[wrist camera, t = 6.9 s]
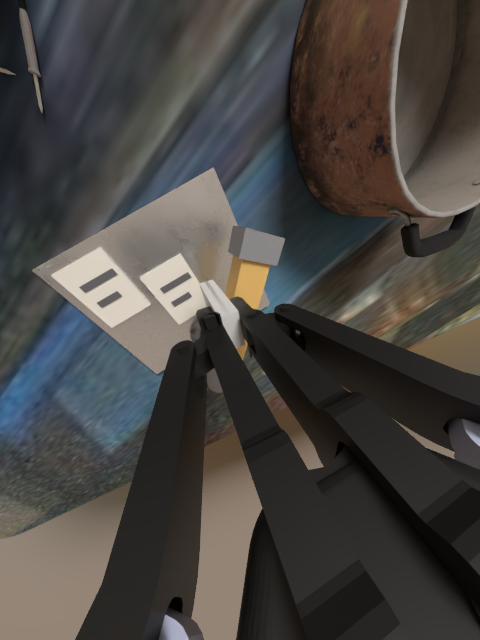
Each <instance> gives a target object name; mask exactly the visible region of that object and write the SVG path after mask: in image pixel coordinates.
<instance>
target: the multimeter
mask: <svg viewBox="0 0 480 640" xmlns="http://www.w3.org/2000/svg"><path fill="white" fill-rule="evenodd" d="M18 2H19V6H20V8H19V15H20V24H21V29H22V34H23V39H24V45H25V50H26V55H27V60H28V66H29V67H28V71H29V72H30V73H31V74H33V77H34V82H35V87H36V93H37V98H38V103H39V107H40V110H41V113H42V112H43V106H42V100H41V95H40V89H39V84H38V78H37V77H40V78H41V75H40V73H39V69H38V63H37V57H36V52H35V46H34V40H33V34H32V29H31V25H30V21H29V18H28V14H27V12H26V9H25V5H24V0H18ZM0 72H3V73H6V74H10V75H16V74H14V73H12V72H10V71H8V70H6V69H3V68H0Z"/></svg>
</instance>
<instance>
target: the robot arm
mask: <svg viewBox="0 0 480 640" xmlns="http://www.w3.org/2000/svg"><path fill="white" fill-rule="evenodd" d="M199 285H200V288H201V291H202V294H203V297H204V300H205V303H206V306H207V307H205V308H202V309H199V310H197V312H196V316H197V319H198V322H199V325H200V327H201V330H202V335H201V336H200V338H199V339H198V340H196V341H195V342H192V341H190V340H184V341H181V342H179V343H177V344H175V345H174V346H173V347H172V349H171V351H170V354H169V358H168V361H167V364H166V368H165V371H164V375H163V378H162V381H161V385H160V388H159V392H158V395H157V398H156V402H155V405H154V409H153V412H152V415H151V419H150V422H149V426H148V429H147V432H146V436H145V439H144V443H143V446H142V449H141V453H140V456H139V460H138V463H137V467H136V470H135V473H134V477H133V480H132V484H131V487H130V490H129V494H128V497H127V501H126V504H125V507H124V511H123V514H122V518H121V521H120V524H119V528H118V531H117V535H116V538H115V541H114V545H113V548H112V552H111V555H110V558H109V562H108V565H107V569H106V572H105V576H104V579H103V582H102V585H101V587H100V589H99V591H98V593H97V595H96V597H95V600H94V602H93V604H92V606H91V608H90V610H89V612H88V614H87V616H86V618H85V620H84V622H83V625H82V627H81V629H80V631H79V633H78V635H77V637H76V639H75V640H204V639H203V635H202V632H201V630H200V628H199V627H198V625H197V623H196V622H195V621H194V620H192V619H191V616H192V611H193V605H194V598H195V591H196V584H197V577H198V564H199V552H200V529H201V505H202V483H203V459H204V436H205V412H206V389H207V373H208V372H209V371H211V370H212V369H214V368H215V370H216V373H217V376H218V379H219V382H220V385H221V388H222V391H223V394H224V396H225V399H226V402H227V405H228V408H229V411H230V414H231V417H232V420H233V423H234V425H235V428H236V431H237V434H238V437H239V440H240V442H241V445H242V449H243V452H244V455H245V458H246V461H247V464H248V467H249V470H250V473H251V475H252V479H253V481H254V484H255V487H256V490H257V493H258V496H259V499H260V502H261V505H262V507H263V509H262V511H261V513H260V515H259V517H258V519H257V521H256V524H255V527H254V530H253V534H252V538H251V542H250V548H249V554H248V561H247V568H246V575H245V582H244V589H243V596H242V603H241V610H240V617H239V624H238V631H237V638H236V640H480V376H477V375H473V374H469V373H464V372H461V371H459V370H457V369H454V368H451V367H449V366H446V365H444V364H441V363H439V362H436V361H434V360H431V359H428V358H426V357H424V356H421V355H418V354H416V353H413V352H411V351H408V350H406V349H403V348H401V347H398V346H396V345H393V344H391V343H388V342H386V341H383V340H380V339H378V338H375V337H373V336H370V335H368V334H365V333H363V332H360V331H358V330H355V329H353V328H350V327H347V326H345V325H342V324H340V323H337V322H335V321H332V320H330V319H327V318H325V317H322V316H320V315H317V314H315V313H312V312H309V311H307V310H304V309H302V308H299V307H297V306H294V305H291V304H280V305H278V306H276V307H275V309H274V313H268V314H264V313H263V312H262V311H260V310H258V309H252V308H251V307H250V306H249V305H248V304H247V302H246V301H245V300H244V299H243V298H241V297H238V296H237V297H234V298H231V299H228V298H227V296H226V295H225V294H224V293H223V292H222V290H221V289H220V288H219V287H218V285H217V284H216V283H215V282H214V281H213V280H209V281H206V282H203V283H199ZM296 330H298V331H300V334H297V333H296ZM244 339H245V340H246V342H247V344H248V348H249V353H250V357H252V354H253V356H254V357H255V359H256V360H257V362H258V363H259V365H260V366H261V368H262V369H263V371H264V372H265V374H266V375H267V377H268V378H269V379H270V381H271V382H272V384H273V385H274V387H275V388H276V390H277V391H278V393H279V394H280V396H281V397H282V399H283V400H284V402H285V403H286V405H287V406H288V407H289V409H290V410H291V412H292V413H293V415H294V416H295V418H296V419H297V421H298V422H299V424H300V425H301V427H302V428H303V430H304V431H305V433H306V434H307V435H308V437H309V438H310V440H311V441H312V443H313V445H314V446H315V448H316V451H317V454H318V457H319V459H320V460H321V463H322V464H323V466H324V467H322V468H317V469H312V470H308V469H307V467H306V465H305V464H304V462H303V460H302V458H301V457H300V455H299V453H298V451H297V450H296V448H295V446H294V444H293V443H292V441H291V439H290V438H289V436H288V434H287V433H286V432H285V431H284V430H282V429H281V428H280V427H279V425H278V424H277V422H276V420H275V418H274V416H273V414H272V413H271V411H270V409H269V407H268V405H267V404H266V402H265V400H264V398H263V396H262V394H261V393H260V391H259V389H258V387H257V385H256V384H255V382H254V380H253V378H252V376H251V375H250V373H249V371H248V369H247V367H246V366H245V364H244V362H243V360H242V358H241V357H240V355H239V353H238V351H237V349H236V348H239V347H241V346H244V345H246V344H245V340H244ZM341 385H342V386H343V387H345V388H346V389H348V390H349V391H351V393H350V392H348V391H347V390H345V389H344V388H343V387H342V386H341ZM392 418H393V419H394V420H396V421H398V422H399V423H401V424H402V425H404V426H405V427H407V428H409V429H410V430H412V431H414V432H415V433H417V434H419V435H420V436H422V437H424V438H426V439H428V440H430V441H432V442H434V443H436V444H438V445H440V446H442V447H445V448H447V449H449V450H452V451H454V452H455V454H454V457H455V459H452V458H450V457H447V456H445V455H442V454H440V453H437V452H435V451H432V450H430V449H427V448H425V447H424V446H423V445H422V444H421V443H420V442H418V441H417V440H416V439H415V438H414V437H413V436H411V435H410V434H409V433H408V432H407V431H405V429H403V428H402V427H401V426H400V425H399V424H398V423H397V422H395V421H394V420H393V419H392Z"/></svg>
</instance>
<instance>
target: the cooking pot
mask: <svg viewBox="0 0 480 640" xmlns="http://www.w3.org/2000/svg"><path fill="white" fill-rule="evenodd" d="M290 119H291V130H292V137H293V143H294V150H295V154H296V157H297V160H298V164H299V167H300V171H301V173H302V175H303V178H304V180H305V182H306V184H307V186H308V188H309V190H310V191H311V192H312V194H313V195H314V196H315V198H316V199H317V200H318V202H320V203H321V204H322V205H323V206H325V207H326V208H327V209H328V210H330V211H333V212H335V213H338V214H340V215H348V216H359V217H399V218H401V219H402V220H403V221H404V224H405V226H404V227H403V228H402V229H401V236H402V242H403V247H404V251H405V253H406V254H407V255H408V256H411V257H425V256H428V255H431V254H434V253H437V252H439V251H441V250H444V249H446V248H448V247H450V246H451V245H453V244H454V243H456V242H457V241H458V240H459V239H460V238H461V237H462V236H463V234H464V232H465V231H466V229H467V226H468V224H469V222H470V220H471V217H472V215H473V213H474V210H475V207H474V206H476V205H477V204H479V203H480V0H306V3H305V7H304V10H303V13H302V17H301V20H300V23H299V28H298V34H297V39H296V44H295V50H294V55H293V61H292V73H291V85H290ZM454 215H455V217H454V220H453V222H452V224H451V226H450V228H449V230H448V231H444V232H442V233H439V234H437V235H434V236H431V237H428V238H425V239H421V240H420V236H419V224H417V223H413V224H411V220H410V217H424V218H443V217H449V216H454Z"/></svg>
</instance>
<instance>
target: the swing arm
mask: <svg viewBox="0 0 480 640" xmlns="http://www.w3.org/2000/svg"><path fill="white" fill-rule="evenodd" d="M284 242H285V238H282V237H278V236H275V235H271V234H267V233H263V232H260V231H256V230H252V229H249V228H245V227H239V226H233V228H232V233H231V238H230V243H229V248H228V252H229V253H231V254H232V255H233V258H232V263H231V268H230V273H229V277H228V282H227V287H226V292H225V295H226V296H227V298H228V299H231V298H234V297H237V296H238V297H241V298H243V299H244V300H245V301H246V302H247V304H248V305H249V306H250V307H251V308H252V309H258V306H259V303H260V300H261V296H262V293H263V289H264V286H265V282H266V279H267V276H268V272H269V269H270V265H275V266H277V264H278V261H279V258H280V255H281V251H282V248H283V245H284ZM244 340H245V339H244ZM245 344H246V345H244V346H241V347H239V348H236V349H237V351H238V353H239V355H240V357H241V358H242V360H243V358H244V355H245V351H246V348H247V342H246V340H245ZM207 384H208V387H209V388H210V389H211V390H212V391H214V392H217V393H223V391H222V388H221V385H220V382H219V379H218V376H217V373H216V370H215V368H214V369H212V370H211V371H209V372H208V373H207Z"/></svg>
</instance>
